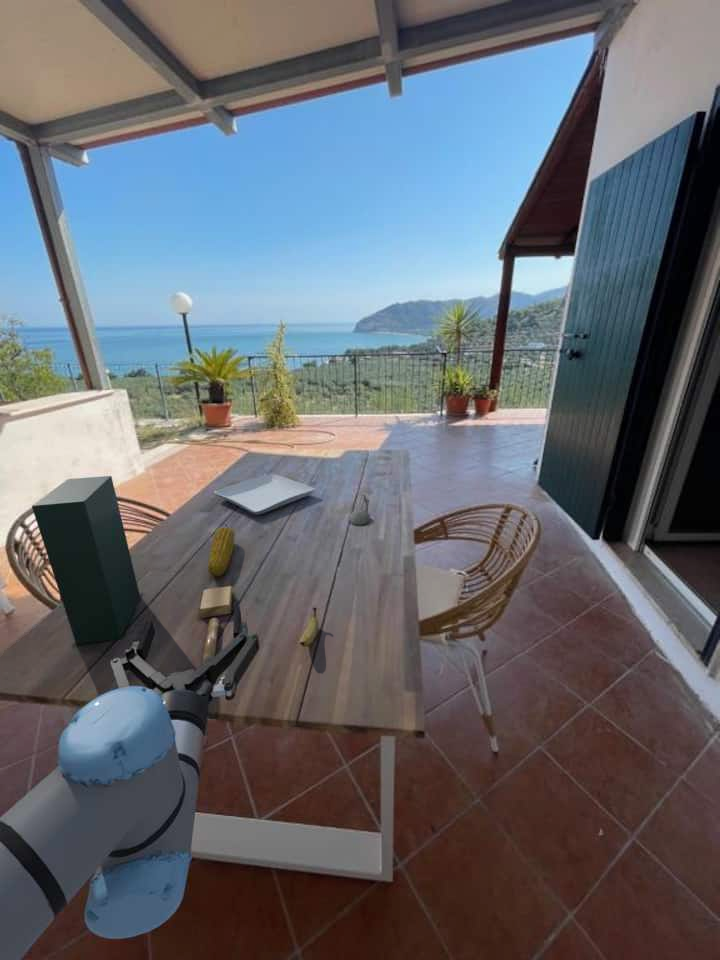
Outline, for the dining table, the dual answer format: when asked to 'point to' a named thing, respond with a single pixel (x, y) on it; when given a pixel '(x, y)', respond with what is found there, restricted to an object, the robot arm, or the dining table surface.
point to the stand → (89, 556)
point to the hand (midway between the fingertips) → (195, 619)
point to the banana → (310, 631)
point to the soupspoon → (360, 515)
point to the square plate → (264, 493)
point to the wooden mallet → (214, 605)
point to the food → (221, 551)
